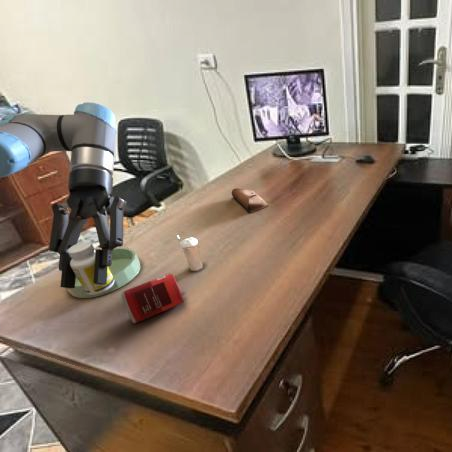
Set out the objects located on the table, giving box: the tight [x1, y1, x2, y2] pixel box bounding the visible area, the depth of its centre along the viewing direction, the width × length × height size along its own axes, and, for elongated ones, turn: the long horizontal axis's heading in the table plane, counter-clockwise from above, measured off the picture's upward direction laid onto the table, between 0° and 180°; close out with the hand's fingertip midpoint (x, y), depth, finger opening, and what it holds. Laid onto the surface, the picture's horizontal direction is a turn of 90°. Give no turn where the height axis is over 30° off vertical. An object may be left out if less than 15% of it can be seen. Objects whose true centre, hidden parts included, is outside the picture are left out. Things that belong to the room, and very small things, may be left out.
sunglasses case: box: [231, 188, 269, 213], centre depth 132 cm, size 18×7×7 cm
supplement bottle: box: [68, 241, 114, 295], centre depth 69 cm, size 5×5×10 cm
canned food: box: [121, 273, 185, 324], centre depth 81 cm, size 8×8×11 cm
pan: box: [66, 246, 141, 299], centre depth 96 cm, size 18×18×4 cm
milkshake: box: [176, 235, 204, 272], centre depth 95 cm, size 4×5×10 cm
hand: (84, 285), depth 67 cm, fingers closed on supplement bottle, 5 cm apart
